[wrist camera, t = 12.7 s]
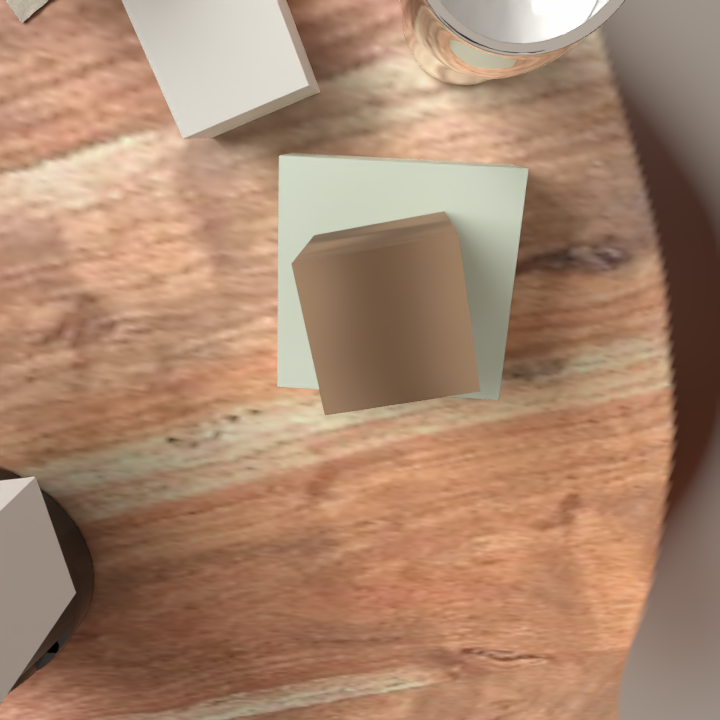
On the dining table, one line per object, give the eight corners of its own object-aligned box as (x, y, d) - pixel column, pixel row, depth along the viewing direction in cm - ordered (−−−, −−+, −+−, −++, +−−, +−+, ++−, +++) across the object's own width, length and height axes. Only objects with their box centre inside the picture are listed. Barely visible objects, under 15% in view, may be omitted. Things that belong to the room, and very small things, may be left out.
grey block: (212, 137, 33) (183, 138, 29) (159, 15, 32) (119, -5, 27) (320, 92, 32) (308, 85, 28) (272, -37, 31) (251, -68, 26)
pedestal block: (291, 354, 37) (277, 386, 33) (294, 152, 34) (278, 155, 29) (485, 366, 37) (498, 400, 32) (509, 163, 33) (528, 168, 29)
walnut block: (339, 357, 32) (325, 415, 25) (314, 235, 30) (291, 263, 23) (462, 337, 31) (480, 391, 25) (444, 211, 29) (458, 233, 23)
